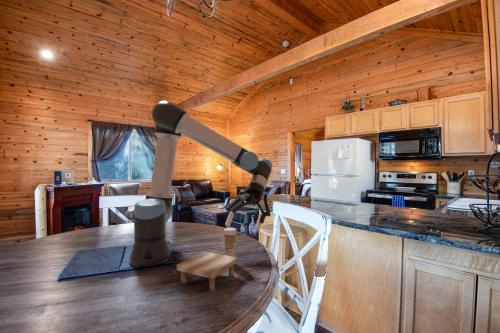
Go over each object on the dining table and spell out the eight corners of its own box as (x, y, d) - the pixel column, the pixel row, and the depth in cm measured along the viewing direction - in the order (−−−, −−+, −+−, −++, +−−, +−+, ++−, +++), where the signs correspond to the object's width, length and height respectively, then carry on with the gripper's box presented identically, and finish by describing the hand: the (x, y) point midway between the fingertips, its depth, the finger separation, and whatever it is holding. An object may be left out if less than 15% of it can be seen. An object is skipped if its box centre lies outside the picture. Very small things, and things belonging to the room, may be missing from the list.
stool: (176, 283, 79) (176, 265, 79) (203, 267, 91) (203, 251, 91) (213, 294, 73) (213, 273, 73) (237, 275, 85) (237, 257, 85)
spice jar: (222, 265, 93) (221, 229, 93) (227, 261, 97) (227, 226, 97) (233, 267, 92) (233, 230, 91) (238, 262, 96) (238, 227, 96)
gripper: (284, 193, 111) (272, 236, 97) (235, 191, 122) (219, 229, 108) (280, 182, 106) (267, 225, 92) (230, 181, 117) (211, 219, 103)
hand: (241, 227), depth 100 cm, fingers open, 13 cm apart
